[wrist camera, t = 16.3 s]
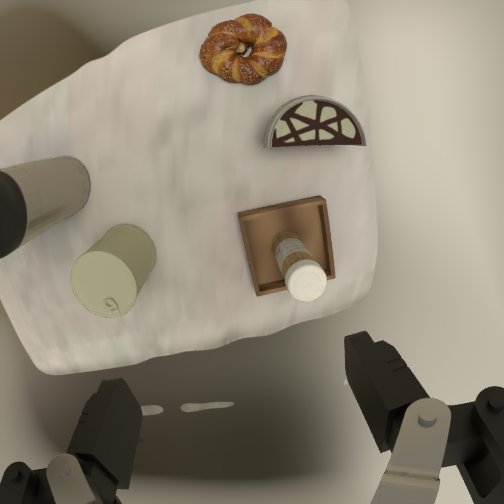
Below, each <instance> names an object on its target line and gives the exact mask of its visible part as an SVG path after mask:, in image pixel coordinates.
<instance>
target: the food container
mask: <svg viewBox="0 0 504 504" xmlns="http://www.w3.org/2000/svg"><path fill="white" fill-rule="evenodd" d="M300 145H305V146H307V145H358V146H367V145H366V138H365V134H364V131H363V129H362V126H361V124H360V123H359V121H358V119H357V118H356V116H355V115H354V114H353V113H352V112H351V111H350V110H349V109H348V108H347V107H346V106H344V105H343V104H341V103H340V102H338V101H335V100H333V99H330V98H327V97H323V96H316V95H309V96H302V97H298V98H295V99H293V100H290V101H289V102H287V103H286V104H284V105H283V106H281V107H280V108H279V109H278V110H277V111H276V112H275V114H274V115H273V116H272V118H271V120H270V122H269V123H268V126H267V129H266V132H265V137H264V148H272V147H280V146H300Z"/></svg>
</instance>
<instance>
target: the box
mask: <svg viewBox="0 0 504 504" xmlns="http://www.w3.org/2000/svg"><path fill="white" fill-rule="evenodd" d="M238 216H239V221H240V226H241V230H242V234H243V239H244V243H245V248H246V252H247V256H248V261H249V265H250V269H251V274H252V278H253V283H254V287H255V291H256V296H261V295H266V294H270V293H275V292H279V291H284V290H288V289H287V287H286V284H285V278H284V276H283V275H282V272H281V270H280V268H279V265H278V263H277V260H276V257H275V255H274V253H273V251H272V243H273V240H274V239H275V237H276V236H277V235H279V234H280V233H282V232H293V233H295V234H296V235H297V236H298V237H299V238H300V240H301V242H302V243H303V244H304V245H305V247H306V248H307V249H308V251H309V252H310V254H311V255H312V257H313V259H314V260H315V262H317V263H318V264H319V265H320V266H321V267H322V269H323V270H324V272H325V274H326V277H327V280H329V279H334V278H335V268H334V259H333V250H332V242H331V234H330V226H329V219H328V211H327V204H326V199H324V198H323V197H321V196H315V197H310V198H305V199H300V200H295V201H290V202H286V203H281V204H276V205H271V206H267V207H262V208H257V209H253V210H248V211H244V212H239V213H238Z"/></svg>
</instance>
